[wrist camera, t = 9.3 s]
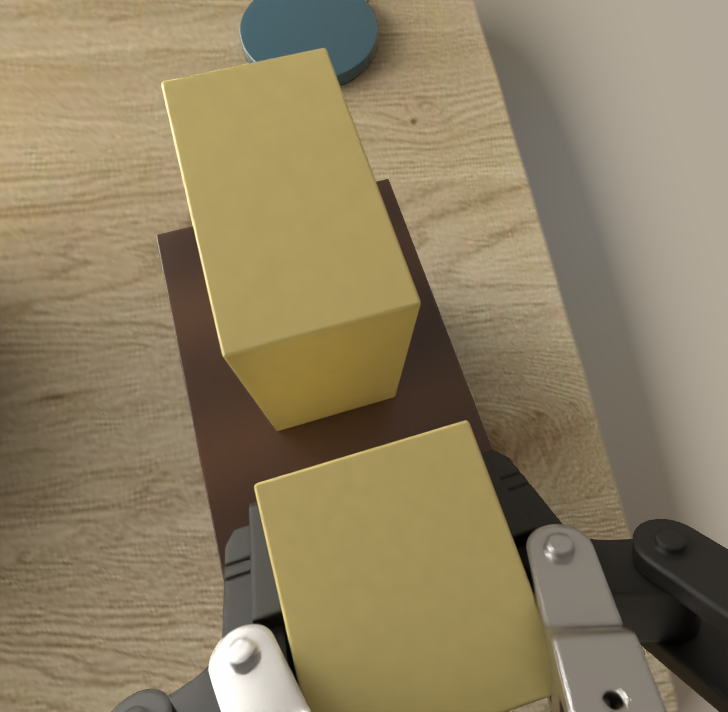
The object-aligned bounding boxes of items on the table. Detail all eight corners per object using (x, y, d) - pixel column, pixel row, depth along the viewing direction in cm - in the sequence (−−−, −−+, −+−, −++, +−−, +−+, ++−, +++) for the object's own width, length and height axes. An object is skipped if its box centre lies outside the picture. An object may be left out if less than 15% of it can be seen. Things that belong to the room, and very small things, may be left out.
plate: (319, -27, 41) (319, -40, 40) (405, 46, 38) (406, 33, 37) (215, 33, 39) (211, 20, 38) (299, 114, 36) (297, 103, 35)
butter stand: (471, 553, 27) (535, 561, 17) (282, 617, 26) (239, 661, 16) (378, 285, 32) (388, 178, 22) (216, 328, 31) (155, 234, 21)
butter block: (396, 397, 19) (422, 303, 12) (276, 432, 19) (222, 357, 11) (336, 218, 22) (325, 45, 14) (229, 245, 21) (159, 80, 14)
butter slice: (473, 622, 17) (571, 690, 9) (337, 669, 16) (320, 783, 8) (422, 469, 18) (468, 418, 11) (296, 508, 18) (252, 484, 10)
